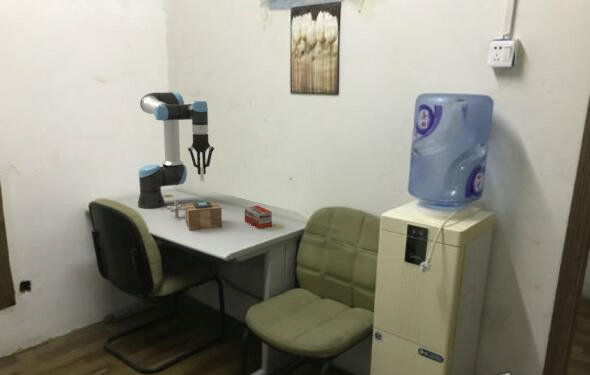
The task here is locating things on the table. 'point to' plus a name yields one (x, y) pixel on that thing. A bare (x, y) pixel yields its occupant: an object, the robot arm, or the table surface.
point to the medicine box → (258, 217)
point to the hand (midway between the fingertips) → (202, 180)
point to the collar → (202, 206)
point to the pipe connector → (176, 208)
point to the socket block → (203, 217)
